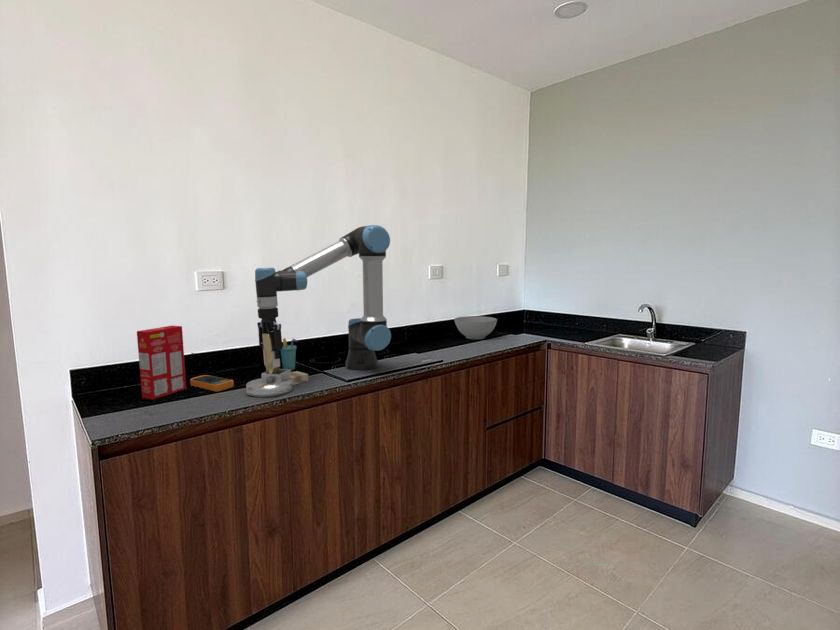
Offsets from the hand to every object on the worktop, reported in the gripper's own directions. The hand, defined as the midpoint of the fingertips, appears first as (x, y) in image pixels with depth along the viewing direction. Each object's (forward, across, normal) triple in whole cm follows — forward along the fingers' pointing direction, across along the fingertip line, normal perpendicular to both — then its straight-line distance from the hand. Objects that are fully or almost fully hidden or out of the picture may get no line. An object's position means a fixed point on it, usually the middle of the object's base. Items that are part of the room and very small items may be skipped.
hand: (272, 365), depth 181 cm
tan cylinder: (+5, +1, 0) cm, 5 cm away
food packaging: (+8, -24, -32) cm, 41 cm away
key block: (+9, -1, +10) cm, 14 cm away
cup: (+9, -20, +20) cm, 30 cm away
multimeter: (+9, -20, -16) cm, 27 cm away
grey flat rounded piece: (+9, +3, -4) cm, 10 cm away
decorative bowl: (+12, -2, +144) cm, 145 cm away
